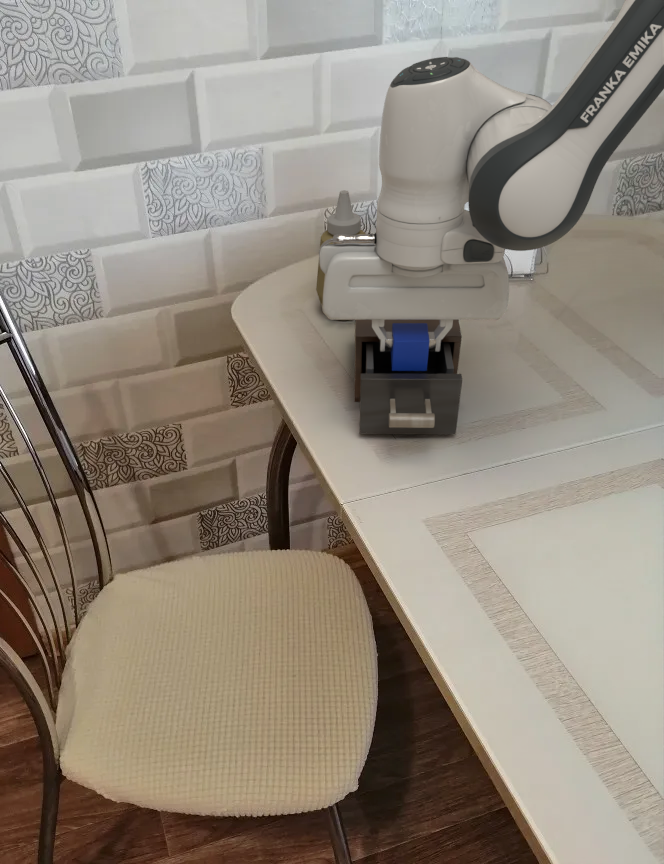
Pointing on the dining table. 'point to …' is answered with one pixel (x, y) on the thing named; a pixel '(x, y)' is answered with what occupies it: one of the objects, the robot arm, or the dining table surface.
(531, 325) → the dining table surface
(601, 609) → the dining table surface
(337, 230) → the squeeze bottle
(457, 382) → the dark grey drawer
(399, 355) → the block
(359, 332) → the wooden drawer cabinet
